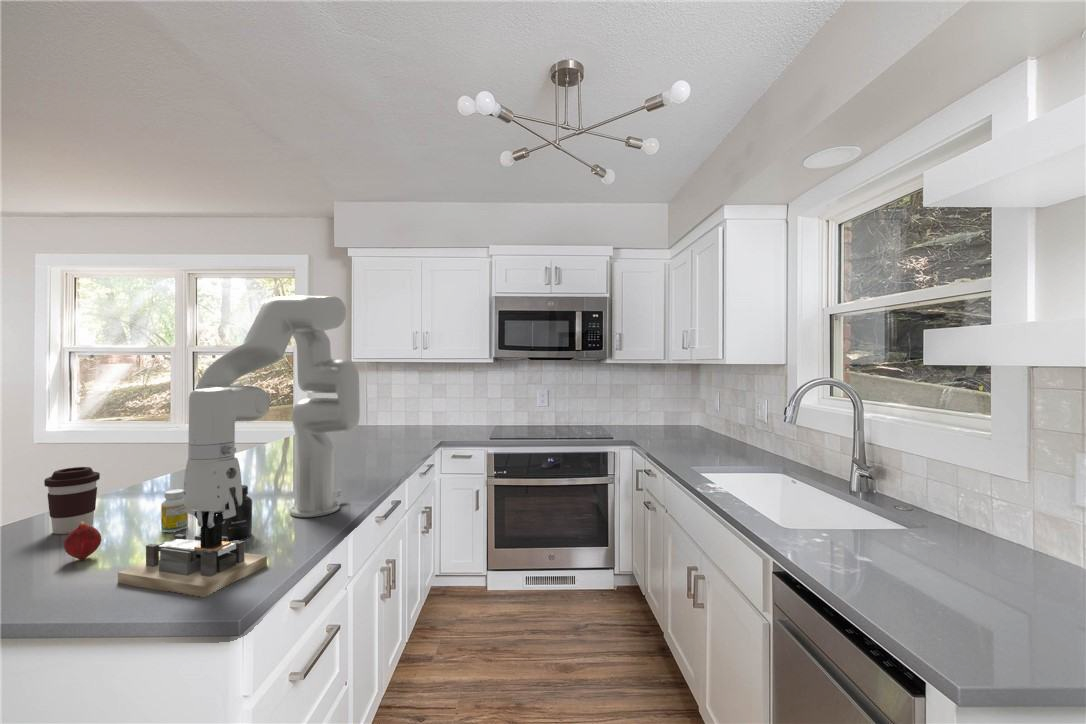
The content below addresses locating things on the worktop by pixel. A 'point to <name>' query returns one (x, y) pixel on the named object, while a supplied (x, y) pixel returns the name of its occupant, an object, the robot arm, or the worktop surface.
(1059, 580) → the worktop surface
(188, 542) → the strap
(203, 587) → the heatsink base
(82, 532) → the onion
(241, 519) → the supplement bottle
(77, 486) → the coffee cup
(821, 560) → the worktop surface
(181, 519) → the supplement bottle
